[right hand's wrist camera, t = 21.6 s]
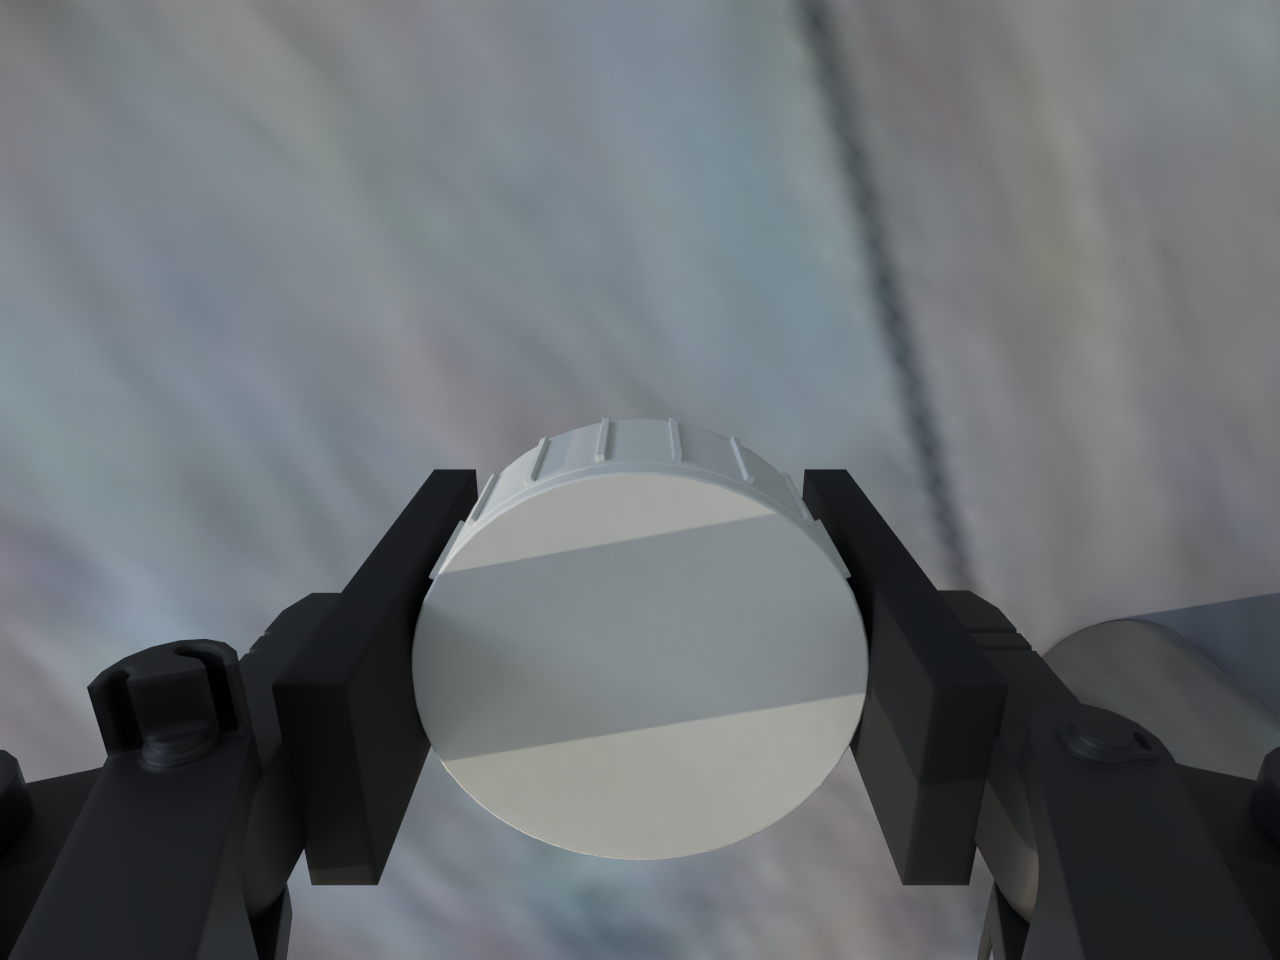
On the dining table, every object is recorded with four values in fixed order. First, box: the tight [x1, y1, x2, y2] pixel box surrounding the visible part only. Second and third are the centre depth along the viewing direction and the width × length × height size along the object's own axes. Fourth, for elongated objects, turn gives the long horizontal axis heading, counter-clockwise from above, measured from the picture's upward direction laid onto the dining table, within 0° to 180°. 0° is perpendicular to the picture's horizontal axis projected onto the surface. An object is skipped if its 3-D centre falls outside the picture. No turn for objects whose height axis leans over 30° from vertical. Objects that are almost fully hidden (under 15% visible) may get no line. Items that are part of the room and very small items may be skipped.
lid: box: [411, 417, 869, 860], centre depth 11 cm, size 6×6×2 cm
